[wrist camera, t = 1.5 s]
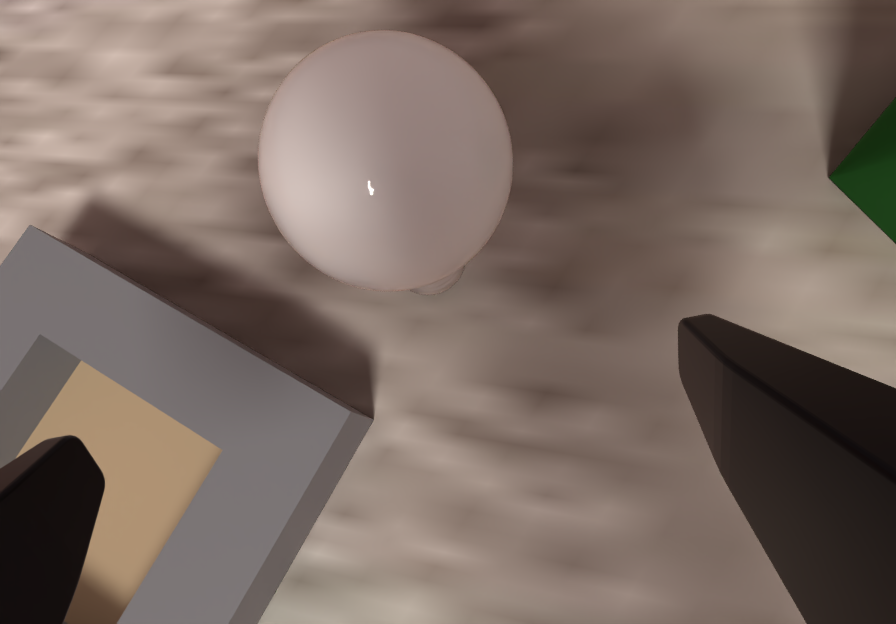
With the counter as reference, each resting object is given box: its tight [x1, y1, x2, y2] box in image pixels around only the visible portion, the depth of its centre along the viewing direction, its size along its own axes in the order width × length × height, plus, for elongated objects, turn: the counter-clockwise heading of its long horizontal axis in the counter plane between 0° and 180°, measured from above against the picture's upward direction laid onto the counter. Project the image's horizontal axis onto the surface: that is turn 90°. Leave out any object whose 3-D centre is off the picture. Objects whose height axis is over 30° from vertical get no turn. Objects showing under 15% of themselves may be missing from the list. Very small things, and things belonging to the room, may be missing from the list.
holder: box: [0, 225, 373, 624], centre depth 21 cm, size 14×14×3 cm
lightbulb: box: [258, 30, 513, 295], centre depth 18 cm, size 6×6×11 cm
